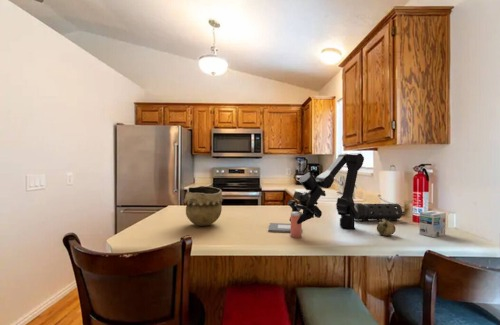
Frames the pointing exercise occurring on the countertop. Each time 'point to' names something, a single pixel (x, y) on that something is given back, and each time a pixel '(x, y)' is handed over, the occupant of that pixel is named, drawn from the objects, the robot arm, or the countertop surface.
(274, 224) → the mat
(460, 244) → the countertop surface
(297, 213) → the salt shaker
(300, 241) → the countertop surface
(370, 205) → the muzzle brake
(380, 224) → the onion
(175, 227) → the countertop surface
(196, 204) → the clay pot
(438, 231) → the light bulb box
